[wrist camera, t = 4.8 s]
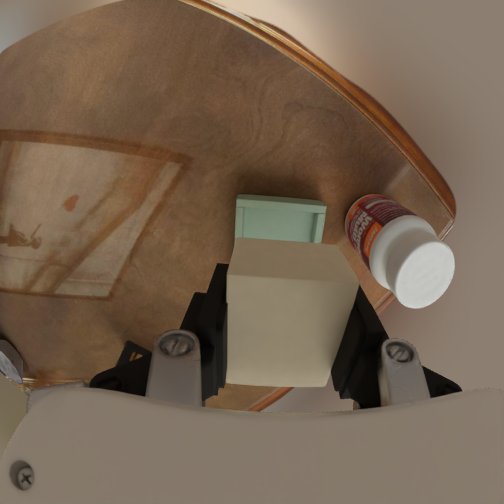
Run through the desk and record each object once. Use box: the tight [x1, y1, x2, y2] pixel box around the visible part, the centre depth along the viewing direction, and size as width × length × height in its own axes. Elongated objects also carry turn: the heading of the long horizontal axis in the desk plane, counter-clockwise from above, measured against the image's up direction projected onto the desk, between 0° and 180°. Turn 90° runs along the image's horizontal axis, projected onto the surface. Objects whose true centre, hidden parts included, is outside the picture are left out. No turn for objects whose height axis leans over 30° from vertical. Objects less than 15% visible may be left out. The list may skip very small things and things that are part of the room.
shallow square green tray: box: [234, 194, 327, 246], centre depth 26 cm, size 9×8×2 cm
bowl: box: [0, 340, 23, 384], centre depth 39 cm, size 13×13×5 cm
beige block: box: [226, 237, 360, 387], centre depth 10 cm, size 5×4×3 cm
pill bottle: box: [345, 194, 455, 308], centre depth 20 cm, size 6×6×11 cm
